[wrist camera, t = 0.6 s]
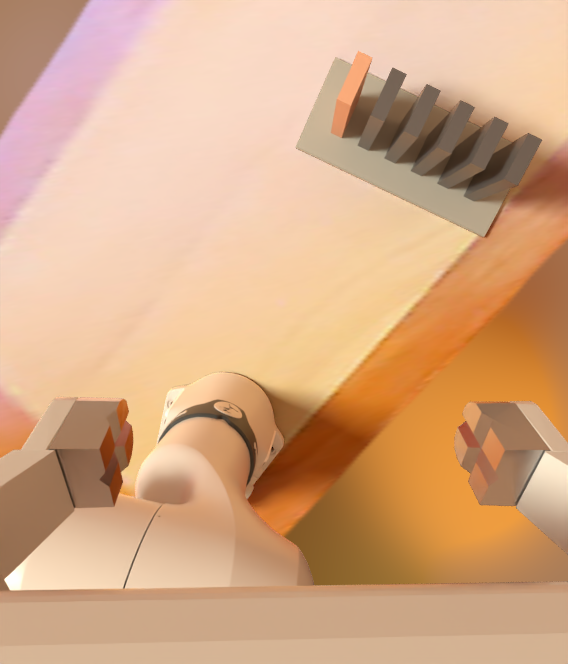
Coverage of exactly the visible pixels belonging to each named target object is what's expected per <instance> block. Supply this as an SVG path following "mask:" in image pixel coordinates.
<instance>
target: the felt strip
mask: <svg viewBox="0 0 568 664" xmlns="http://www.w3.org/2000/svg"><path fill="white" fill-rule="evenodd" d="M351 66H352V65H351V64H349V63H347V62H344V61H342V60H340V59H338V58H336V57H335V59H334V61H333V64H332V66H331V68H330V70H329V73H328V75H327V77H326V79H325V82H324V84H323V86H322V89H321V91H320V93H319V95H318V98H317V100H316V102H315V104H314V107H313V109H312V111H311V114H310V116H309V118H308V120H307V123H306V125H305V127H304V129H303V132H302V134H301V136H300V139H299V141H298V143H297V145H296V149H298V150H300V151H302V152H305V153H307V154H309V155H311V156H313V157H315V158H317V159H319V160H321V161H323V162H326V163H328V164H330V165H332V166H334V167H336V168H338V169H340V170H342V171H345V172H347V173H349V174H351V175H353V176H355V177H357V178H359V179H361V180H363V181H366V182H368V183H370V184H372V185H374V186H376V187H378V188H380V189H382V190H384V191H387V192H389V193H391V194H393V195H395V196H397V197H399V198H401V199H403V200H405V201H408V202H410V203H412V204H414V205H416V206H418V207H420V208H422V209H424V210H426V211H429V212H431V213H433V214H435V215H437V216H439V217H441V218H443V219H445V220H447V221H450V222H452V223H454V224H456V225H458V226H460V227H462V228H464V229H466V230H468V231H471V232H473V233H475V234H477V235H479V236H481V237H485V235H486V233H487V231H488V229H489V227H490V225H491V223H492V222H493V220H494V218H495V216H496V214H497V212H498V210H499V209H500V207H501V205H502V203H503V201H504V199H505V197H506V195H507V194H508V192H509V190H510V189H507V190H504V191H502V192H499V193H496V194H493V195H490V196H488V197H485V198H482V199H479V200H477V201H472V200H470V199H468V198H466V197H464V194H465V192H466V190H467V188H468V186H469V184H470V182H471V180H472V178H473V177H474V175H473V176H472V177H470V178H468V179H466V180H464V181H462V182H460V183H458V184H456V185H454V186H452V187H450V188H448V189H447V188H445V187H443V186H441V185H439V184H437V183H438V181H439V179H440V177H441V175H442V173H443V171H444V169H445V167H446V165H447V163H448V161H449V159H450V157H451V155H452V153H453V151H454V149H455V147H456V146H458V145H459V144H460V143H461V142H463V141H464V140H465V139H467V138H468V137H469V136H471V135H472V134H473V133H474V132H476V131H477V130H478V129H480V128H481V127H479V126H477V125H475V124H473V123H471V122H469V121H468V122H467V124H466V126H465V128H464V130H463V131H462V133H461V135H460V137H459V139H458V141H457V143H456V145H455V147H454V149H453V151H452V153H451V154H450V155H449V156H448V157H446V158H445V159H444V160H442V161H441V162H440V163H438V164H437V165H436V166H434V167H433V168H432V169H430V170H429V171H428V172H426V173H425V174H424V175H422V176H420V175H418V174H416V173H414V172H412V171H411V169H412V167H413V165H414V163H415V161H416V159H417V157H418V155H419V153H420V151H421V149H422V147H423V144H424V142H425V140H426V138H427V136H428V134H429V133H430V132H431V131H432V130H433V129H434V128H435V127H436V126H437V125H438V124H439V123H440V122H441V121H442V120H443V119H444V118H445V117H446V115H447V114H448V113H449V112H448V111H446V110H444V109H442V108H440V107H438V106H436V105H434V106H433V108H432V110H431V112H430V114H429V116H428V118H427V120H426V122H425V124H424V126H423V128H422V130H421V132H420V134H419V136H418V138H417V139H416V140H415V142H414V143H413V144H412V145H411V146H410V147H409V148H408V149H407V150H406V152H405V153H404V154H403V155H402V156H401V157H400V158H399V159H398V161H397V162H396V163H393V162H391V161H389V160H386V159H384V157H385V155H386V153H387V151H388V149H389V147H390V145H391V143H392V140H393V138H394V136H395V134H396V132H397V130H398V128H399V126H400V124H401V122H402V120H403V119H404V117H405V116H406V114H407V113H408V111H409V110H410V108H411V107H412V105H413V104H414V102H415V101H416V99H417V98H418V97H417V96H415V95H413V94H411V93H409V92H407V91H405V90H403V89H401V88H400V90H399V92H398V94H397V96H396V98H395V100H394V102H393V104H392V107H391V109H390V111H389V113H388V115H387V117H386V119H385V121H384V123H383V125H382V127H381V129H380V131H379V132H378V134H377V136H376V138H375V140H374V141H373V143H372V145H371V147H370V149H369V150H365V149H363V148H361V147H359V146H357V145H358V143H359V141H360V138H361V136H362V134H363V131H364V129H365V127H366V125H367V122H368V120H369V118H370V115H371V113H372V111H373V109H374V107H375V105H376V102H377V100H378V98H379V96H380V94H381V92H382V89H383V87H384V85H385V83H386V81H384V80H382V79H380V78H378V77H376V76H374V75H371V74H369V73H367V76H366V79H365V83H364V86H363V89H362V92H361V95H360V98H359V101H358V103H357V106H356V108H355V110H354V112H353V114H352V116H351V119H350V121H349V123H348V125H347V127H346V130H345V132H344V134H343V136H342V138H340V137H338V136H336V135H334V134H332V133H331V128H332V123H333V117H334V112H335V107H336V101H337V98H338V95H339V93H340V91H341V89H342V86H343V84H344V82H345V80H346V78H347V75H348V73H349V71H350V69H351ZM511 143H512V142H510V141H508V140H506V139H504V138H502V137H501V139H500V141H499V143H498V145H497V147H496V149H495V151H494V153H495V152H497V151H499V150H500V149H502V148H504V147H506V146H507V145H509V144H511Z"/></svg>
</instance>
